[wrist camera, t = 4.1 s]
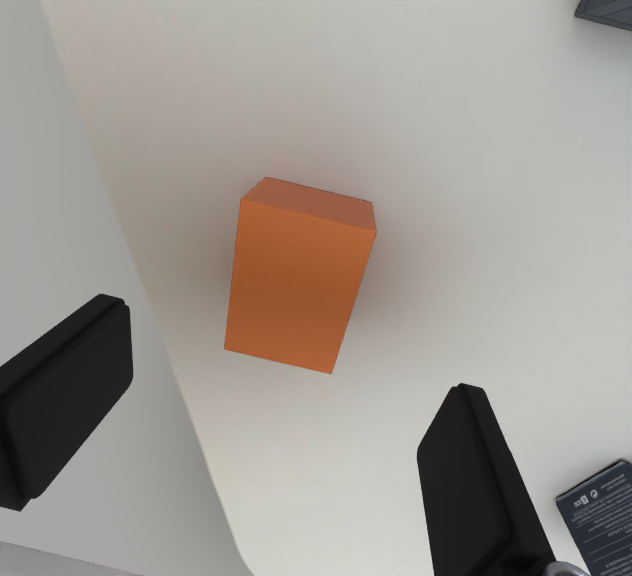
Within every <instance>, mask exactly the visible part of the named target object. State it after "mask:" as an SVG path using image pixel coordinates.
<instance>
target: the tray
mask: <svg viewBox="0 0 632 576" xmlns="http://www.w3.org/2000/svg"><path fill="white" fill-rule="evenodd" d="M575 16H576V17H579V18H582V19H586V20H590V21H594V22H598V23H602V24H606V25H610V26H614V27H618V28H622V29H626V30H630V31H632V0H581V3H580V5H579V7H578V9H577V11H576V13H575Z"/></svg>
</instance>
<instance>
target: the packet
mask: <svg viewBox="0 0 632 576" xmlns="http://www.w3.org/2000/svg"><path fill="white" fill-rule="evenodd" d="M375 236H376V226H375V220H374V214H373V207H372V203H371V202H367V201H363V200H359V199H355V198H351V197H347V196H343V195H339V194H334V193H330V192H326V191H322V190H318V189H314V188H310V187H306V186H301V185H297V184H293V183H289V182H285V181H281V180H277V179H273V178H268V177H265V178H264V179H263V180H262V181H261V182H259V183H258V184H257V185H256V186H255V187H254V188H253V189H252V190H250V191H249V192H248V193H247V194H246V195H245V196H244V197H243V198H241V201H240V210H239V219H238V228H237V237H236V246H235V255H234V264H233V273H232V282H231V291H230V300H229V309H228V318H227V327H226V336H225V345H224V349H225V350H229V351H234V352H238V353H242V354H247V355H251V356H255V357H259V358H264V359H268V360H272V361H277V362H281V363H285V364H289V365H294V366H298V367H302V368H307V369H311V370H315V371H319V372H324V373H328V374H332V372H333V368H334V365H335V362H336V359H337V356H338V353H339V349H340V346H341V343H342V340H343V337H344V334H345V331H346V327H347V324H348V321H349V318H350V315H351V312H352V308H353V305H354V302H355V299H356V296H357V293H358V289H359V286H360V283H361V280H362V277H363V274H364V270H365V267H366V264H367V261H368V258H369V255H370V252H371V248H372V245H373V242H374V239H375Z"/></svg>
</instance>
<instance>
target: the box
mask: <svg viewBox="0 0 632 576" xmlns="http://www.w3.org/2000/svg"><path fill="white" fill-rule="evenodd" d="M556 505H557V507H558V509H559V511H560V513H561V515H562V517H563V519H564V521H565V523H566V525H567V527H568V529H569V531H570V533H571V535H572V537H573V539H574V542H575V544H576V546H577V547H578V549H579V552H580V554H581V556H582V558H583V560H584V562H585V564H586V566H587V568H588V570H589V572H590V574H591V576H632V466H631V465H629V464H627V463H625V462H620V463H619V464H617V465H615V466H614V467H612V468H610V469H608V470H605V471H604V472H603V473H600V474H599V475H597V476H595V477H593V478H592V479H590V480H589V481H587V482H584V483H583V484H582V485H580V486H578V487H577V488H575V489H573V490H572V491H570V492H568V493H567V494H565V495H563V496H562V497H559V498H557V501H556Z"/></svg>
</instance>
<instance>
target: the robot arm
mask: <svg viewBox="0 0 632 576" xmlns="http://www.w3.org/2000/svg"><path fill="white" fill-rule="evenodd" d="M132 379H133V360H132V342H131V325H130V309H129V307H128V306H127V305H125V302H124V300H123V299H121V298H117V297H113V296H109V295H105V294H99V295H97V296H95V297H94V298H93V299H91V300H90V301H89V302H87V303H86V304H85V305H84V306H82V307H81V308H80V309H78V310H77V311H75V312H74V313H72V314H71V315H70V316H68V317H67V318H66V319H64V320H63V321H62V322H60V323H59V324H58V325H56V326H55V327H53V328H52V329H51V330H49V331H48V332H47V333H46V334H44V335H43V336H41V337H40V338H39V339H37V340H36V341H35V342H33V343H32V344H31V345H29V346H28V347H26V348H25V349H24V350H23V351H21V352H20V353H18V354H17V355H16V356H15V357H13V358H11V359H10V360H9V361H7V362H6V363H5V364H3V365H2V366H1V367H0V507H4V508H8V509H12V510H16V511H21V510H22V509H23V508H24V507H25V505H26V504H27V503H28V502H29V501H30V499H31V498H32V499H35V498H37V497H39V496H40V495H41V494H42V493H43V492H44V491H45V490H46V488H47V487H48V486H49V485H50V483H51V482H52V481H53V480H54V479H55V477H56V476H57V475H58V474H59V473H60V471H61V470H62V469H63V468H64V466H65V465H66V464H67V463H68V461H69V460H70V459H71V458H72V456H73V455H74V454H75V453H76V452H77V450H78V449H79V448H80V447H81V445H82V444H83V443H84V442H85V440H86V439H87V438H88V437H89V436H90V434H91V433H92V432H93V431H94V429H95V428H96V427H97V425H99V423H100V422H101V421H102V420H103V418H104V417H105V416H106V415H107V413H108V412H109V411H110V410H111V408H112V407H113V406H114V405H115V403H116V402H117V401H118V400H119V399H120V397H121V396H122V395H123V394H124V393H125V391H126V390H127V389H128V387H129V386H130V384H131V382H132ZM417 463H418V469H419V476H420V483H421V489H422V496H423V503H424V510H425V516H426V523H427V530H428V536H429V543H430V550H431V556H432V563H433V570H434V576H590V575H589V574H587V573H586V572H585V571H583V570H582V569H580V568H579V567H577V566H574V565H572V564H570V563H568V562H562V561H556V558H555V556H554V554H553V551H552V549H551V547H550V544H549V542H548V539H547V537H546V535H545V532H544V530H543V527H542V525H541V523H540V520H539V518H538V515H537V513H536V511H535V508H534V506H533V504H532V501H531V499H530V496H529V494H528V492H527V489H526V487H525V484H524V482H523V480H522V477H521V475H520V472H519V470H518V468H517V465H516V463H515V461H514V458H513V456H512V453H511V451H510V450H509V448H508V446H507V443H506V441H505V439H504V436H503V434H502V431H501V429H500V427H499V424H498V422H497V419H496V417H495V415H494V412H493V410H492V407H491V405H490V403H489V400H488V398H487V395H486V393H485V391H484V389H482V388H480V387H476V386H472V385H468V384H464V383H460V384H459V385H458V386H457V387H452V388H451V389H450V390H449V392H448V394H447V396H446V398H445V399H444V401H443V403H442V405H441V407H440V409H439V410H438V412H437V414H436V416H435V418H434V419H433V421H432V423H431V425H430V427H429V428H428V430H427V432H426V434H425V436H424V437H423V439H422V441H421V443H420V445H419V447H418V450H417ZM0 576H143V575H139V574H135V573H131V572H127V571H123V570H119V569H114V568H110V567H106V566H102V565H98V564H94V563H90V562H86V561H81V560H77V559H73V558H69V557H65V556H61V555H57V554H52V553H48V552H44V551H40V550H36V549H32V548H27V547H24V546H19V545H14V544H10V543H5V542H1V541H0Z"/></svg>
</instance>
